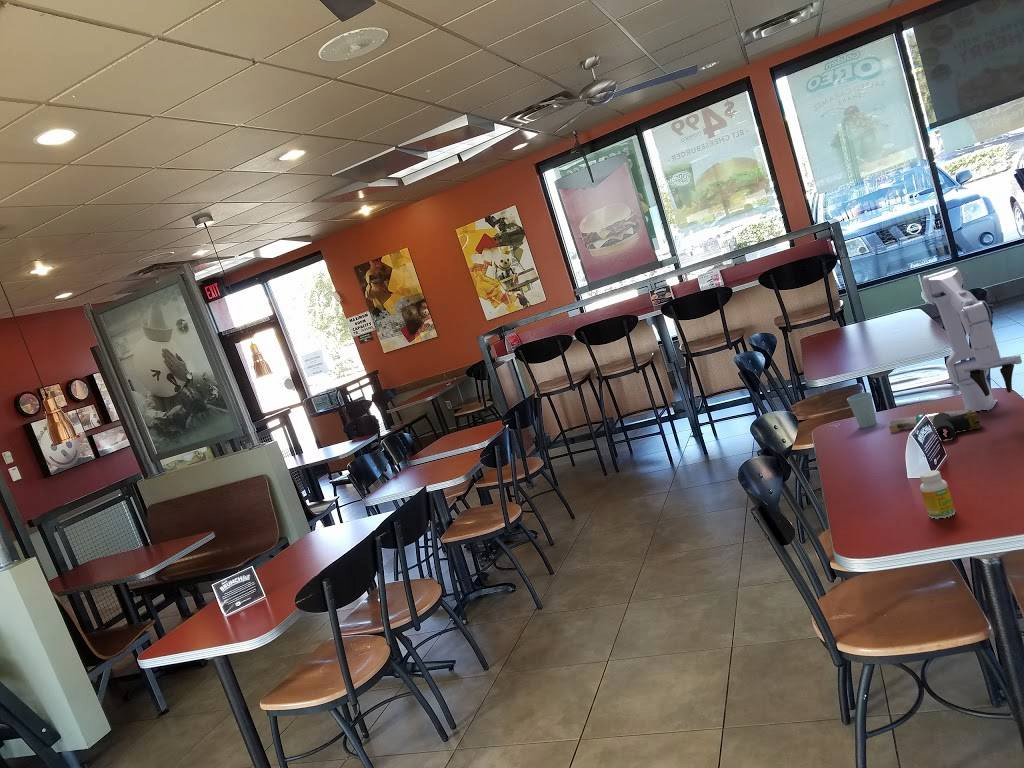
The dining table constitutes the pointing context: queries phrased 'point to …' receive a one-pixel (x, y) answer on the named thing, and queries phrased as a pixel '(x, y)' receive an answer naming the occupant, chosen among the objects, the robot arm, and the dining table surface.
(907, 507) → the dining table surface
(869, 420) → the cup
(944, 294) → the robot arm
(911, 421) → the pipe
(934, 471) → the supplement bottle
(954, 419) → the pipe connector
